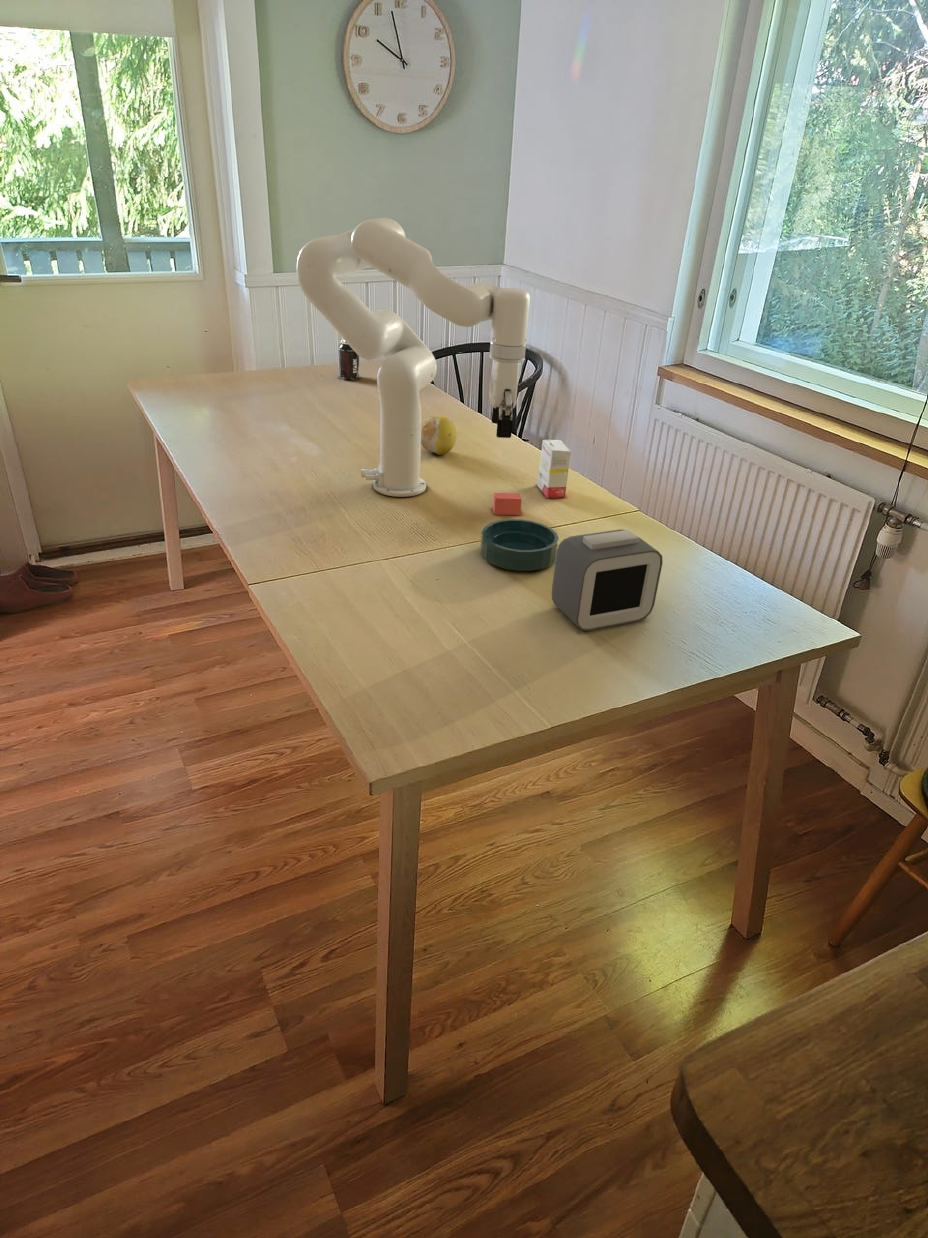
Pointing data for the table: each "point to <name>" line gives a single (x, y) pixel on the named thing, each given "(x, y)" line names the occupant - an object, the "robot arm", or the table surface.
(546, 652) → the table surface
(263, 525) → the table surface
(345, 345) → the beverage can
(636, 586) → the alarm clock
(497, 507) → the eraser
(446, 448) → the fruit
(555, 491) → the ink box
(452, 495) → the table surface
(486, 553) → the bowl
